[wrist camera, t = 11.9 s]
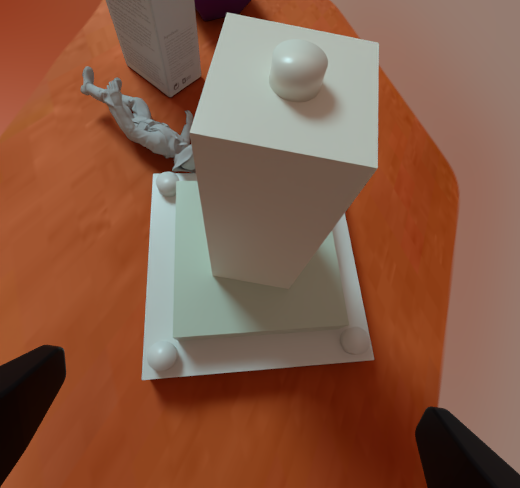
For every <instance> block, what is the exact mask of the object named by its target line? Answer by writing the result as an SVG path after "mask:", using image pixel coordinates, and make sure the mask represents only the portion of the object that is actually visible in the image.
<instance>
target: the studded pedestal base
mask: <svg viewBox="0 0 520 488" xmlns="http://www.w3.org/2000/svg"><path fill="white" fill-rule="evenodd" d="M369 360H374V355H373V350H372V345H371V340H370V335H369V330H368V326H367V321H366V316H365V311H364V306H363V301H362V296H361V291H360V286H359V281H358V276H357V271H356V266H355V261H354V256H353V251H352V247H351V242H350V237H349V232H348V227H347V222H346V217H345V213H344V215H343V216H342V217H341V219H340V220H339V221H338V223H337V224H336V225H335V227H334V228H333V230H332V231H331V232H330V234H329V235H328V236H327V238H326V239H325V240H324V242H323V243H322V245H321V246H320V247H319V249H318V250H317V251H316V253H315V254H314V255H313V257H312V258H311V260H310V261H309V262H308V264H307V265H306V266H305V268H304V269H303V270H302V272H301V273H300V274H299V276H298V277H297V279H296V280H295V281H294V283H293V284H292V285H291V287H290V288H289V289H286V288H280V287H274V286H269V285H263V284H257V283H252V282H246V281H240V280H235V279H229V278H223V277H218V276H212V269H211V263H210V257H209V251H208V244H207V238H206V232H205V226H204V220H203V213H202V207H201V201H200V195H199V188H198V182H197V176H196V173H173V172H163V173H161V174H153V186H152V204H151V222H150V240H149V258H148V276H147V294H146V312H145V330H144V348H143V366H142V380H149V379H161V378H172V377H184V376H195V375H207V374H218V373H230V372H242V371H253V370H265V369H276V368H288V367H299V366H311V365H323V364H334V363H346V362H357V361H369Z"/></svg>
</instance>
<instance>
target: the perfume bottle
mask: <svg viewBox="0 0 520 488" xmlns="http://www.w3.org/2000/svg"><path fill="white" fill-rule="evenodd" d="M250 1H251V0H194V3H195V8H196V9H197V11H198V12H199V14H200V16H201V17H202V19H203V20H204V21H208V20H213V19H217V18H222V17H226V14H227V12H228V13H233V14H239V13H240V12H241V11H242V10H243V9H244V8H245V6H246V5H247V4H248V3H249V2H250Z"/></svg>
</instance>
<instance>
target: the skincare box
mask: <svg viewBox="0 0 520 488" xmlns="http://www.w3.org/2000/svg"><path fill="white" fill-rule="evenodd" d="M106 3H107V6H108V9H109V12H110V15H111V18H112V21H113V24H114V27H115V30H116V33H117V36H118V39H119V42H120V45H121V48H122V52H123V55H124V58H125V61H126V64H127V65H128V66H129V67H130V68H132V69H133V70H134V71H136V72H137V73H138V74H140V75H141V76H142V77H144V78H145V79H146V80H147V81H149V82H150V83H151V84H153V85H154V86H155V87H157V88H158V89H159V90H161V91H162V92H163V93H165V94H166V95H167V96H168V97H172V96H173V95H175V94H176V93H178V92H179V91H181V90H182V89H183V88H185V87H186V86H188V85H189V84H191V83H192V82H194V81H195V80H197V79H198V78H199V77H201V66H200V55H199V45H198V35H197V24H196V13H195V3H194V0H106Z"/></svg>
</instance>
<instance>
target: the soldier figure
mask: <svg viewBox="0 0 520 488" xmlns="http://www.w3.org/2000/svg"><path fill="white" fill-rule="evenodd" d="M82 76H83V78H84V84H83V85H82V86H81V92H82V93H83V94H85V95H91V96H92V97H94V98H95V99H97V100H99V101H101V102H103V103H106V104H107V106H109V109H110V112H111V113H112V115H113V117H114V118H115V120H116V122H117V123H118V125H119V127H120V128H121V130H122V131H123V132H124V133H125V135H126V136H127V138H128V139H130V140H131V141H134V142H135V143H139V144H141V145H142V146H144V147H146V148H147V149H150V150H151V151H152V152H153V153H157V154H162V155H163V156H164V157H165V158H169V157H171V158H173V157H175V159H174V162H173V163H174V164H175V166H174V167H173V169H172V171H175V172H176V171H186V172H191V173H195V172H196V170H195V164H194V157H193V151H192V145H189V144H190V129H191V126H192V122H193V115H192V113H191V112H190V111H188V110H187V112H188V113H187V112H186V111H185V113H186V115H187V117H186V123H187V124H186V125H185V126H184V128H183V130H182V134H181V135H179V134H178V133H177V132H175V131H173V130H172V129H170V127H169V126H168V125H167V124H164V123H160V122H155V121H154V120H152V119H151V114H150V111H149V108H148V106H147V104H146V103H145V102H144V101H143V100H142V99H141V98H137V97H135V98H133V97H130V96H125V95H122V94H121V92H120V90H121V86H122V82H121V80H120V79H119V78H115V79H114V80H113V81H111V82H112V84H111V82H109V86H108V85H107V89H102V88H98V87H96V86H94V85H93V82H94V73H93V70H92V68H91V67H85V69H84V71H83V75H82ZM109 87H110V88H109ZM129 108H130V109H132V111H133V112H134V114H133V113H132V112H131V110H130V109H129Z"/></svg>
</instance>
